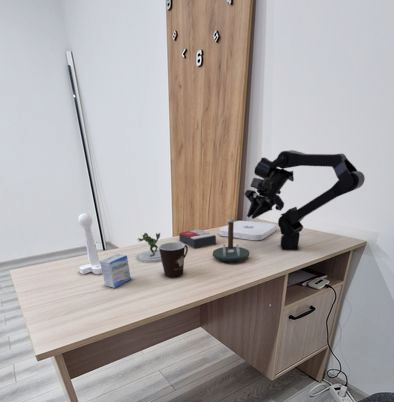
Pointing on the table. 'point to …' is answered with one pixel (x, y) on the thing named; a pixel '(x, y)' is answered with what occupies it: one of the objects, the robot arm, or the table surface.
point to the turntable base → (231, 261)
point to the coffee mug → (173, 258)
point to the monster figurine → (151, 254)
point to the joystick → (89, 247)
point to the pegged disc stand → (231, 248)
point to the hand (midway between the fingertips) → (250, 217)
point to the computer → (249, 230)
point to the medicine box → (115, 270)
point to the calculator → (197, 238)
